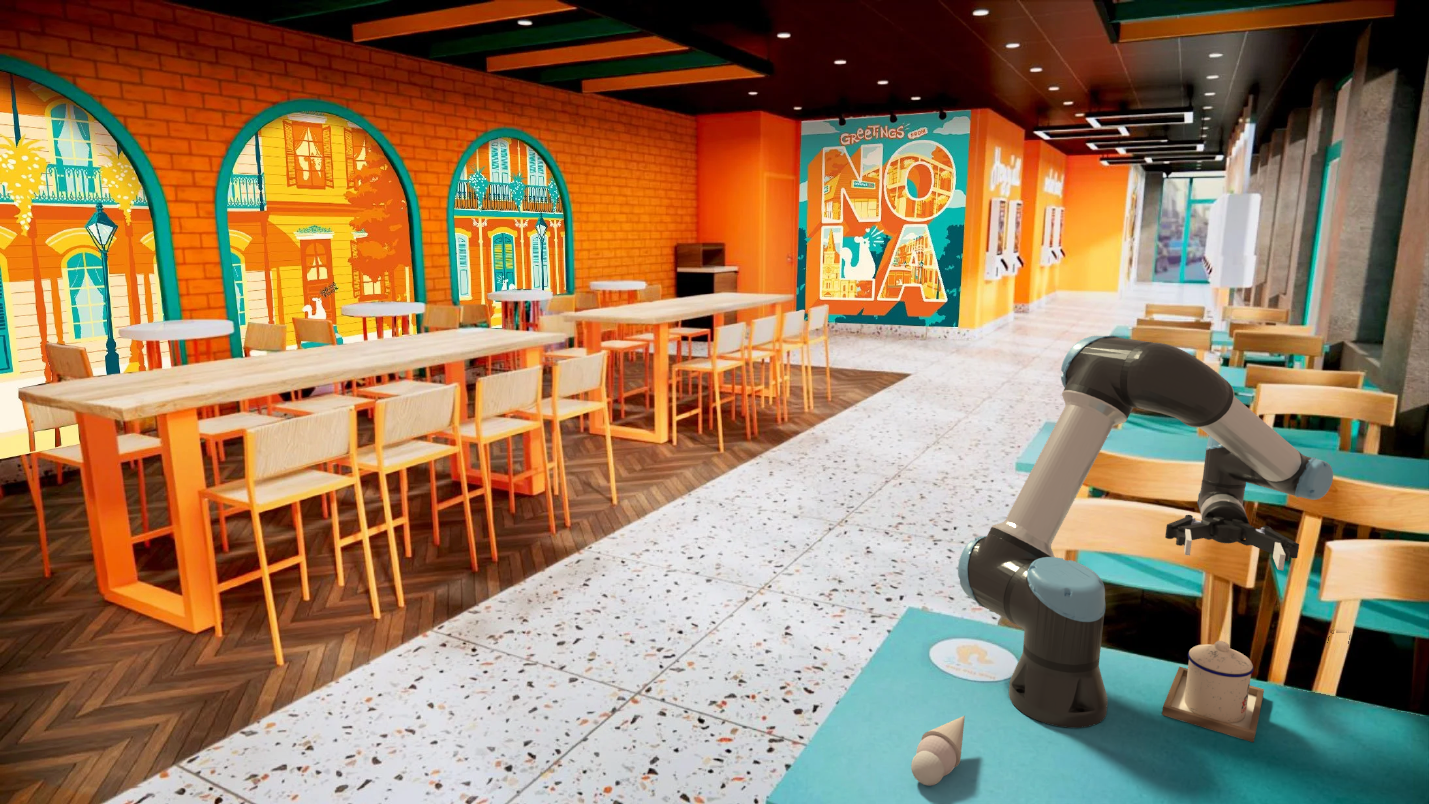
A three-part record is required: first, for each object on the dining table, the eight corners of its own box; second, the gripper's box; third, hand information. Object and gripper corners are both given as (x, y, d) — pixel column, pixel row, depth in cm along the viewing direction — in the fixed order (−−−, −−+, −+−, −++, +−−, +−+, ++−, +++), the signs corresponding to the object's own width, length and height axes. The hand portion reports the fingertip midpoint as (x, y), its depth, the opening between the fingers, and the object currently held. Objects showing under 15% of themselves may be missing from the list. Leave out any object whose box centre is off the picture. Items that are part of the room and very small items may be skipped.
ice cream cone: (968, 739, 130) (924, 803, 119) (938, 707, 131) (892, 768, 121) (992, 723, 126) (949, 788, 115) (961, 691, 127) (916, 752, 117)
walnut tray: (1161, 714, 136) (1162, 706, 135) (1178, 674, 148) (1179, 666, 148) (1253, 742, 128) (1254, 733, 128) (1263, 697, 141) (1264, 689, 140)
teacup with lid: (1256, 728, 131) (1265, 659, 129) (1193, 721, 133) (1201, 654, 131) (1227, 687, 143) (1235, 624, 141) (1169, 682, 145) (1176, 619, 142)
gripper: (1299, 549, 156) (1319, 590, 138) (1149, 526, 167) (1149, 562, 149) (1305, 510, 155) (1326, 547, 136) (1153, 490, 166) (1154, 521, 147)
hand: (1234, 555), depth 142 cm, fingers open, 13 cm apart
